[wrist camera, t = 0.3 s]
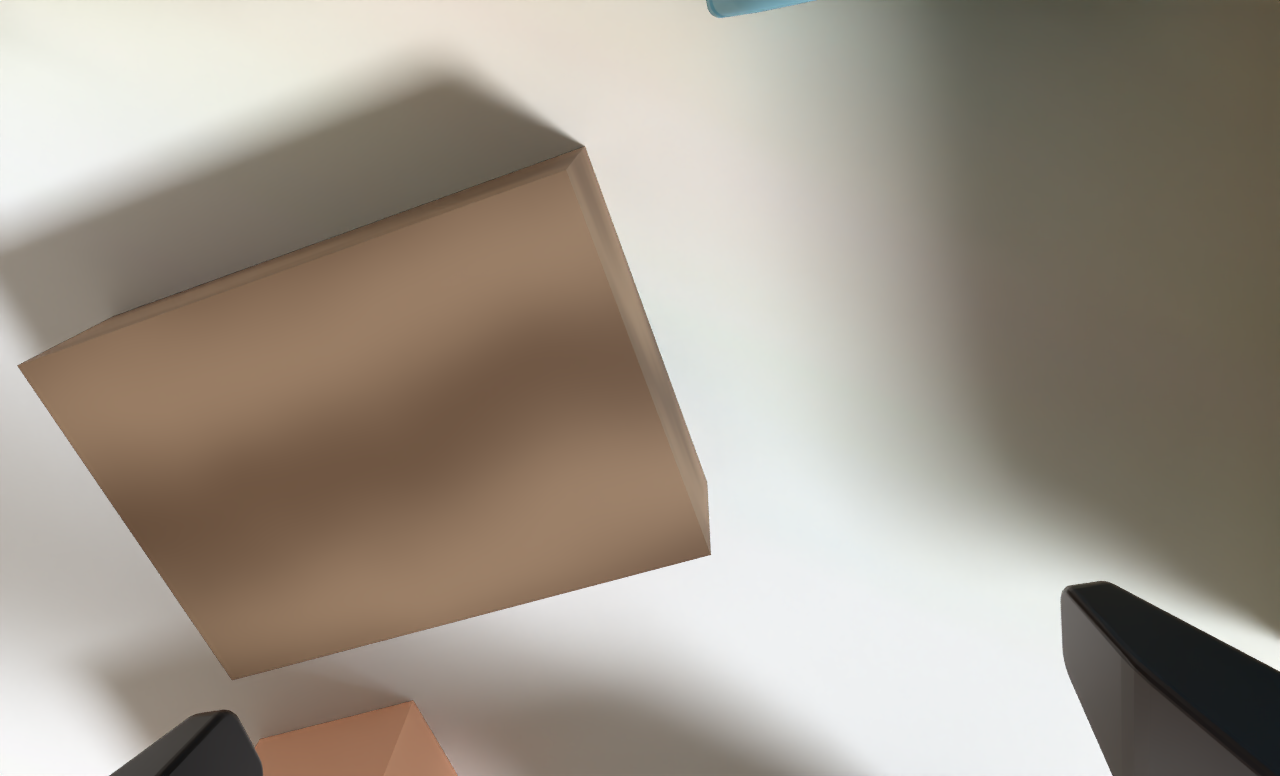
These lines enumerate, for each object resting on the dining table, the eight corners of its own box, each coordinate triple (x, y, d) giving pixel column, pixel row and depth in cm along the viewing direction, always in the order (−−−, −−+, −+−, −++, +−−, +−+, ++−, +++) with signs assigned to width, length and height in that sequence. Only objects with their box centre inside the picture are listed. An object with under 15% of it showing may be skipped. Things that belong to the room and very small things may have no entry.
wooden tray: (706, 475, 25) (710, 555, 21) (293, 591, 27) (232, 680, 23) (586, 144, 21) (565, 169, 17) (121, 312, 23) (17, 365, 20)
